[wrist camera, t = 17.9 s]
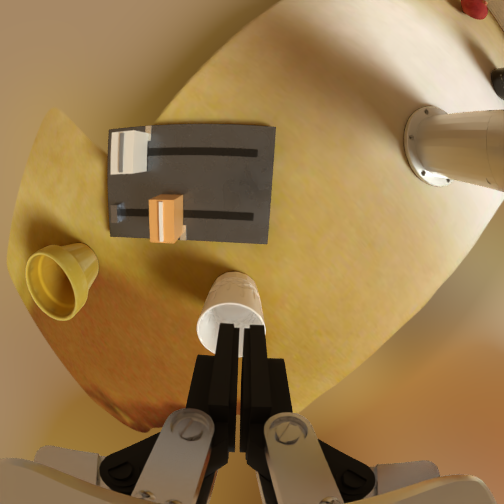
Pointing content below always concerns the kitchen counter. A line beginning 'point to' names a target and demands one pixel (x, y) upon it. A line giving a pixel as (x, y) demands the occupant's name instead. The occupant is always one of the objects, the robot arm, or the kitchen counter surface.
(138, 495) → the robot arm
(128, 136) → the fader
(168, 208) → the block
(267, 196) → the console board
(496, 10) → the stack of papers
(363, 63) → the kitchen counter surface
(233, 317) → the white cup
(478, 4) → the onion
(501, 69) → the supplement bottle
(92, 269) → the plant pot
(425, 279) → the kitchen counter surface
